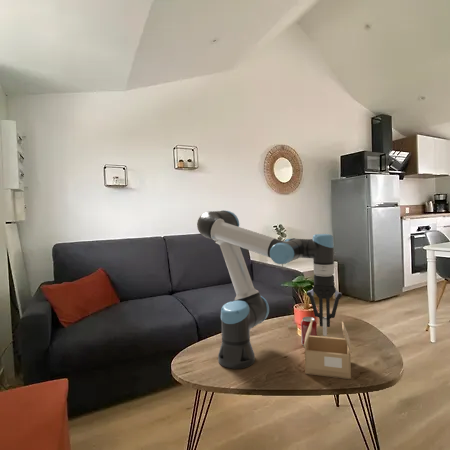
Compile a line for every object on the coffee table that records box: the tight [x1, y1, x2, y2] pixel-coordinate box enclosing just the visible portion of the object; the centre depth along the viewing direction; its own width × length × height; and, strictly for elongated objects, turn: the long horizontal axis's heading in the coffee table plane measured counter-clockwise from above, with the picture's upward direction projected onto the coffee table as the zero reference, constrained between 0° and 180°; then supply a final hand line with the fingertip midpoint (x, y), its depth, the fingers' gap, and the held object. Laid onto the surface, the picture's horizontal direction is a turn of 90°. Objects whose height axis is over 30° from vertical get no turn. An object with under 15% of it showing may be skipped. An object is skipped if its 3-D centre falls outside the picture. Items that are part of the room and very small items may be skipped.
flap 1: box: [303, 319, 313, 349], centre depth 125 cm, size 7×13×1 cm
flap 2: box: [341, 321, 353, 354], centre depth 120 cm, size 7×13×1 cm
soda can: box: [300, 316, 318, 346], centre depth 144 cm, size 7×7×12 cm
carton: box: [304, 335, 352, 380], centre depth 123 cm, size 16×15×9 cm
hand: (325, 334), depth 123 cm, fingers closed
